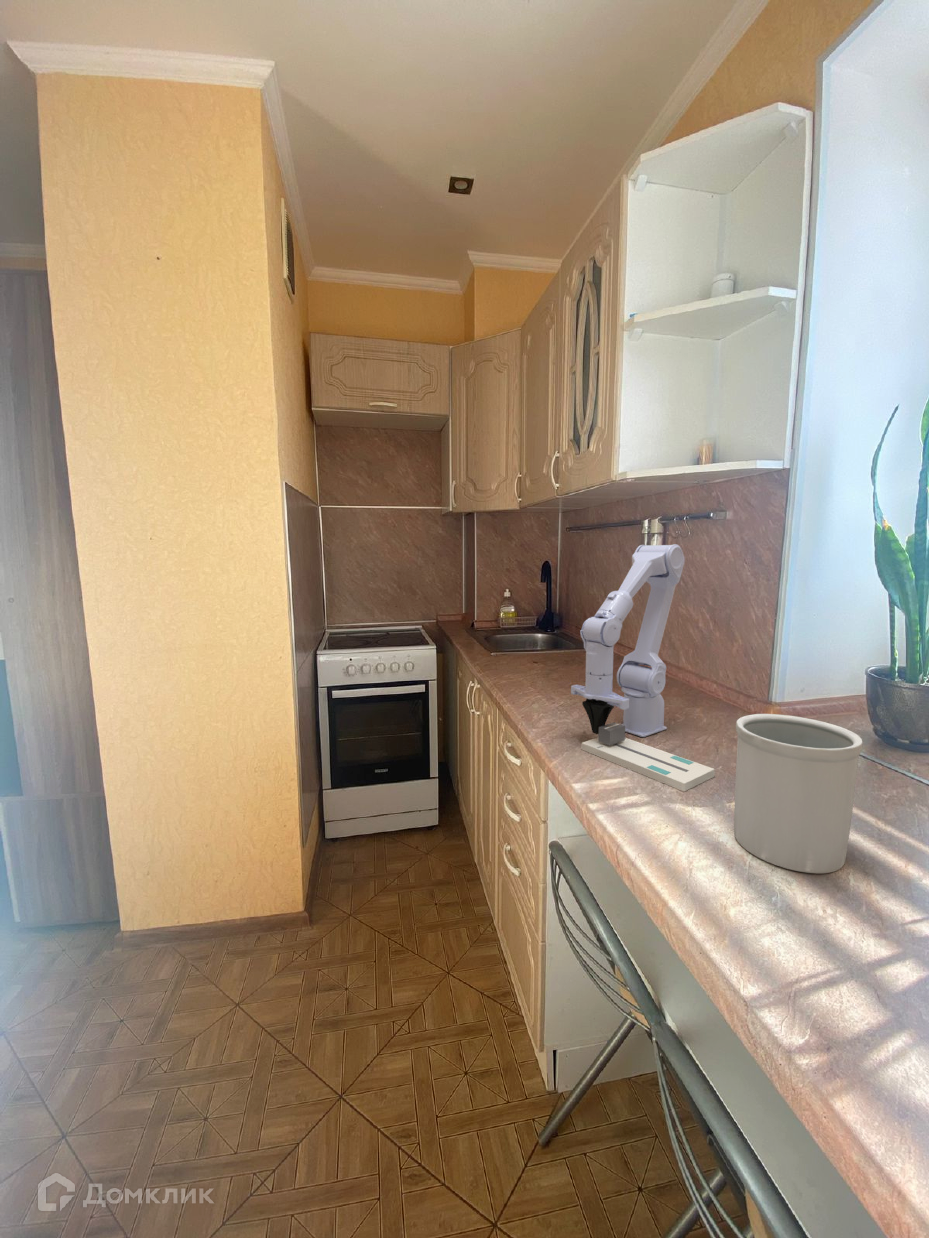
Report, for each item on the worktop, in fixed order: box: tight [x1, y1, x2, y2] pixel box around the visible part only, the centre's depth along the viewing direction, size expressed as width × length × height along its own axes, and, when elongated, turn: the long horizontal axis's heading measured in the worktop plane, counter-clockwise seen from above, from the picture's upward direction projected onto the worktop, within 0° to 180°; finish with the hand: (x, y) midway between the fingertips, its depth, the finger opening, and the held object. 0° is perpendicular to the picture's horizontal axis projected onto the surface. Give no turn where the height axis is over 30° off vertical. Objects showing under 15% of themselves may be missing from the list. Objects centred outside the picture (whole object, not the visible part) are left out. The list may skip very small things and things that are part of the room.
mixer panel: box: [580, 736, 716, 792], centre depth 103 cm, size 10×24×2 cm, turn 35°
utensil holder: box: [733, 713, 863, 874], centre depth 73 cm, size 15×15×18 cm
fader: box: [597, 721, 626, 746], centre depth 109 cm, size 5×3×3 cm, turn 125°
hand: (597, 732), depth 112 cm, fingers closed
